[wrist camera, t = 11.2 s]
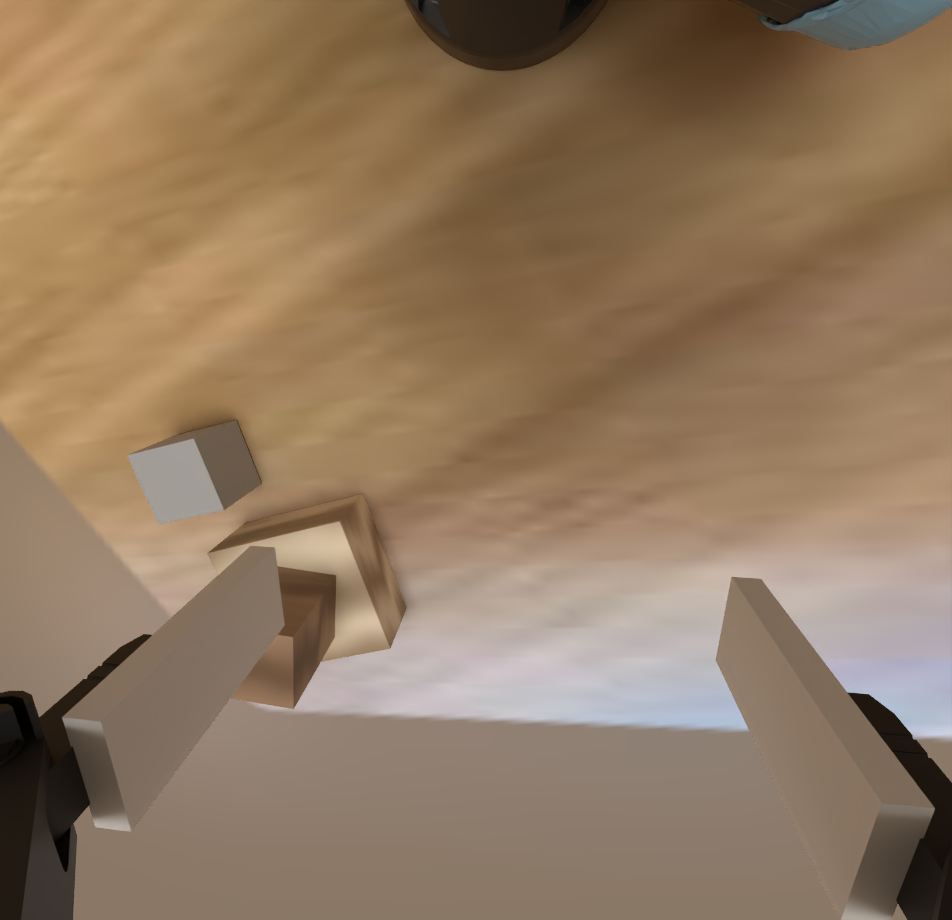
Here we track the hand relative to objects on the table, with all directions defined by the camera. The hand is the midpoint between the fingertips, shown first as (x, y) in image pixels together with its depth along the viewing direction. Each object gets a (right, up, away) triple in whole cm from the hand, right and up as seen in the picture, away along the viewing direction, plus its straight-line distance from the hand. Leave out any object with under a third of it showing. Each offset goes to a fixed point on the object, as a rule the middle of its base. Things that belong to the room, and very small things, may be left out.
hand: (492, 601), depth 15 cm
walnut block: (-15, -8, +28) cm, 33 cm away
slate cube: (-23, +4, +31) cm, 39 cm away
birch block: (-14, -6, +34) cm, 37 cm away
